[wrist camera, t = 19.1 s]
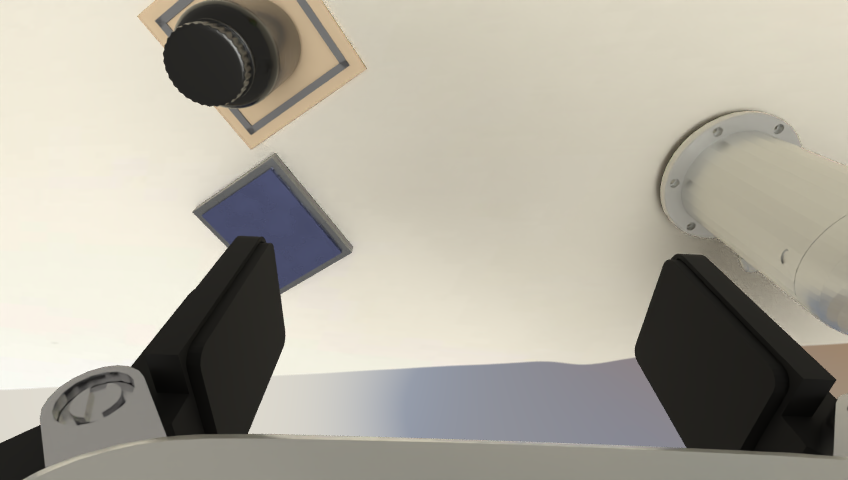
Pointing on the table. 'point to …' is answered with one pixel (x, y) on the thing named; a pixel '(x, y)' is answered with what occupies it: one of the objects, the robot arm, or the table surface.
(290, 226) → the ink pad
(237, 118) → the card
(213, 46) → the supplement bottle
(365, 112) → the table surface
